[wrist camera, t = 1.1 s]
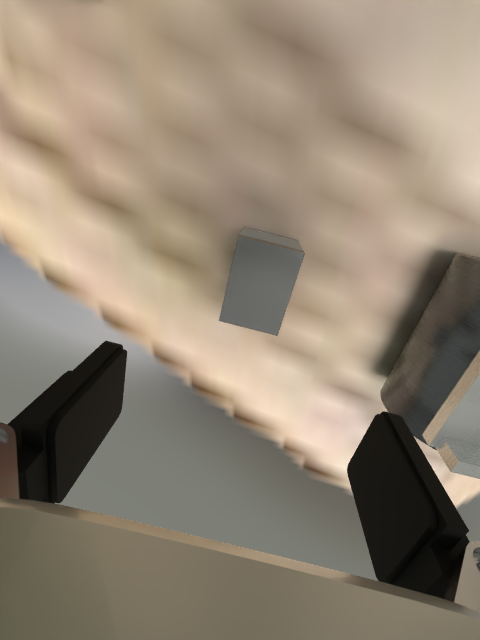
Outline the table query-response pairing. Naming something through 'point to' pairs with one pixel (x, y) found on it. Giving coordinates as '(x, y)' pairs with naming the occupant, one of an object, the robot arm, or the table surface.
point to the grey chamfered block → (261, 280)
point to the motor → (444, 371)
